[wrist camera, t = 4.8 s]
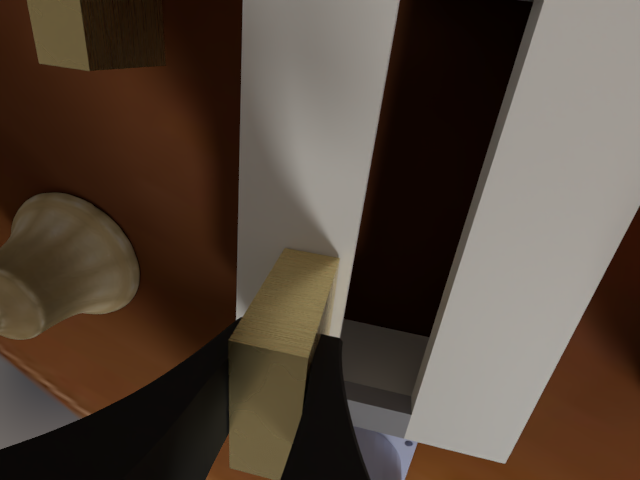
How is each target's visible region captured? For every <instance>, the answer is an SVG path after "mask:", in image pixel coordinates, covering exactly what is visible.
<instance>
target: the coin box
mask: <svg viewBox="0 0 640 480" xmlns="http://www.w3.org/2000/svg"><path fill="white" fill-rule="evenodd" d="M518 1H528V2H533V5H532V8H531V12H530V15H529V18H528V21H527V24H526V28H525V31H524V34H523V37H522V41H521V44H520V47H519V50H518V53H517V57H516V60H515V63H514V66H513V70H512V73H511V76H510V79H509V82H508V86H507V89H506V92H505V95H504V99H503V102H502V105H501V108H500V112H499V115H498V118H497V121H496V124H495V128H494V131H493V134H492V137H491V141H490V144H489V147H488V150H487V153H486V157H485V160H484V163H483V166H482V170H481V173H480V176H479V179H478V182H477V186H476V189H475V192H474V195H473V199H472V202H471V205H470V208H469V211H468V215H467V218H466V221H465V224H464V228H463V231H462V234H461V237H460V240H459V244H458V247H457V250H456V253H455V257H454V260H453V263H452V266H451V270H450V273H449V276H448V279H447V282H446V286H445V289H444V292H443V295H442V299H441V302H440V305H439V308H438V311H437V315H436V318H435V321H434V324H433V328H432V331H431V334H430V337H426V336H421V335H417V334H412V333H407V332H403V331H398V330H393V329H389V328H384V327H380V326H375V325H370V324H366V323H361V322H356V321H352V320H347V319H344V313H345V308H346V302H347V297H348V291H349V285H350V280H351V274H352V268H353V263H354V257H355V251H356V246H357V240H358V234H359V229H360V223H361V218H362V212H363V206H364V201H365V195H366V189H367V184H368V178H369V172H370V167H371V161H372V155H373V150H374V144H375V138H376V133H377V127H378V122H379V116H380V110H381V105H382V99H383V93H384V88H385V82H386V76H387V71H388V65H389V59H390V54H391V48H392V43H393V37H394V31H395V26H396V20H397V14H398V9H399V3H400V0H243V12H242V59H241V107H240V154H239V201H238V248H237V295H236V320H237V319H239V318H240V317H243V316H244V314H245V312H246V311H247V309H248V307H249V306H250V304H251V302H252V301H253V299H254V297H255V296H256V294H257V293H258V291H259V289H260V288H261V286H262V284H263V283H264V281H265V279H266V278H267V276H268V274H269V273H270V271H271V270H272V268H273V266H274V265H275V263H276V261H277V260H278V258H279V256H280V255H281V253H282V252H283V250H284V248H288V249H293V250H299V251H304V252H310V253H315V254H320V255H326V256H331V257H337V258H340V262H339V269H338V276H337V283H336V290H335V298H334V305H333V312H332V319H331V326H330V333H329V336H333V337H338V338H340V339H341V340H342V341H343V345H342V368H343V378H344V385H345V391H346V397H347V402H348V407H349V411H350V415H351V419H352V423H353V426H355V427H359V428H363V429H367V430H371V431H375V432H379V433H383V434H387V435H391V436H395V437H399V438H403V439H407V440H412V441H416V442H420V443H424V444H428V445H432V446H436V447H440V448H444V449H448V450H452V451H456V452H460V453H464V454H468V455H472V456H476V457H480V458H484V459H488V460H492V461H496V462H500V463H504V464H505V463H506V461H507V459H508V457H509V455H510V454H511V452H512V450H513V448H514V446H515V444H516V442H517V440H518V438H519V436H520V434H521V432H522V430H523V429H524V427H525V425H526V423H527V421H528V419H529V417H530V415H531V413H532V411H533V409H534V407H535V406H536V404H537V402H538V400H539V398H540V396H541V394H542V392H543V390H544V388H545V386H546V384H547V382H548V381H549V379H550V377H551V375H552V373H553V371H554V369H555V367H556V365H557V363H558V361H559V359H560V358H561V356H562V354H563V352H564V350H565V348H566V346H567V344H568V342H569V340H570V338H571V336H572V335H573V333H574V331H575V329H576V327H577V325H578V323H579V321H580V319H581V317H582V315H583V313H584V311H585V310H586V308H587V306H588V304H589V302H590V300H591V298H592V296H593V294H594V292H595V290H596V288H597V287H598V285H599V283H600V281H601V279H602V277H603V275H604V273H605V271H606V269H607V267H608V265H609V263H610V262H611V260H612V258H613V256H614V254H615V252H616V250H617V248H618V246H619V244H620V242H621V240H622V239H623V237H624V235H625V233H626V231H627V229H628V227H629V225H630V223H631V221H632V219H633V217H634V216H635V214H636V212H637V210H638V208H639V206H640V0H518Z"/></svg>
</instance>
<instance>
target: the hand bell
mask: <svg viewBox="0 0 640 480" xmlns="http://www.w3.org/2000/svg"><path fill="white" fill-rule="evenodd" d="M139 276H140V271H139V264H138V261H137V258H136V255H135V252H134V250H133V248H132V245H131V243H130V242H129V240H128V238H127V237H126V235H125V234H124V233H123V231H122V230H121V229H120V227H119V226H118V225H117V224H116V223H115V222H114V221H113V220H112V219H111V218H110V217H109V216H108V215H107V214H105V213H104V212H102V211H101V210H100V209H98V208H96V207H95V206H94V205H93V204H91V203H89V202H87V201H85V200H83V199H81V198H78V197H75V196H72V195H69V194H65V193H56V192H55V193H41V194H38V195H35V196H33V197H32V198H30V199H28V200H27V201H26V202H24V204H23V205H22V206H21V207H20V208H19V210H18V211H17V213H16V215H15V217H14V219H13V223H12V228H11V236H10V238H9V239H8V241H7V242H6V243H5V244H4V245H3V246H2V247H1V248H0V335H2V336H4V337H7V338H11V339H19V340H23V339H30V338H33V337H35V336H37V335H39V334H40V333H42V332H43V331H45V330H47V329H48V328H50V327H52V326H53V325H55V324H57V323H59V322H60V321H62V320H64V319H66V318H68V317H71V316H73V315H76V314H79V313H87V314H104V313H109V312H113V311H116V310H119V309H121V308H123V307H124V306H126V305H127V304H128V303H129V302H130V301H131V300H132V299H133V297H134V296H135V294H136V292H137V289H138V286H139Z"/></svg>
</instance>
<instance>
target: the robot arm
mask: <svg viewBox="0 0 640 480" xmlns="http://www.w3.org/2000/svg"><path fill="white" fill-rule="evenodd" d="M241 319H242V317H240V318H239V319H237V320H236V321H235V322H233V323H232V324H231V325H230V326H229V327H227V328H226V329H225V330H224V331H222V332H221V333H220V334H219V335H217V336H216V337H215V338H214V339H212V340H211V341H210V342H209V343H207V344H206V345H205V346H203V347H202V348H201V349H199V350H198V351H197V352H195V353H194V354H193V355H192V356H190V357H189V358H187V359H186V360H185V361H183V362H182V363H180V364H179V365H177V366H176V367H174V368H173V369H171V370H170V371H169V372H167V373H166V374H164V375H163V376H161V377H159V378H158V379H156V380H155V381H153V382H151V383H150V384H148V385H146V386H145V387H143V388H141V389H139V390H138V391H136V392H134V393H133V394H131V395H129V396H127V397H125V398H123V399H121V400H119V401H117V402H115V403H113V404H111V405H109V406H107V407H105V408H103V409H101V410H99V411H97V412H95V413H93V414H91V415H89V416H86V417H84V418H82V419H80V420H77V421H75V422H73V423H70V424H68V425H66V426H63V427H61V428H58V429H56V430H54V431H51V432H48V433H46V434H43V435H40V436H38V437H35V438H32V439H29V440H26V441H23V442H21V443H18V444H15V445H12V446H9V447H6V448H4V449H1V450H0V480H205V479H206V477H207V475H208V473H209V471H210V469H211V467H212V464H213V462H214V461H215V459H216V457H217V455H218V453H219V451H220V449H221V447H222V445H223V443H224V441H225V439H226V437H227V435H228V434H229V358H228V340H229V338H230V337H231V335H232V334H233V332H234V330H235V329H236V327H237V325H238V324H239V322H240V320H241ZM342 345H343V341H342V340H341V339H340V338H338V337H333V336H328V335H324V334H321V337H320V339H319V342H318V345H317V347H316V350H315V353H314V356H313V361H312V367H311V372H310V378H309V383H308V389H307V394H306V400H305V404H304V408H303V413H302V416H301V419H300V422H299V425H298V428H297V432H296V435H295V438H294V441H293V444H292V447H291V450H290V453H289V456H288V459H287V462H286V465H285V468H284V470H283V473H282V476H281V479H280V480H405V477H406V474H407V471H408V468H409V466H410V463H411V460H412V457H413V454H414V451H415V448H416V445H417V442H416V441H412V440H407V439H403V438H399V437H395V436H391V435H387V434H383V433H379V432H375V431H371V430H367V429H363V428H359V427H355V426H353V423H352V419H351V415H350V411H349V407H348V402H347V397H346V391H345V385H344V378H343V368H342Z"/></svg>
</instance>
